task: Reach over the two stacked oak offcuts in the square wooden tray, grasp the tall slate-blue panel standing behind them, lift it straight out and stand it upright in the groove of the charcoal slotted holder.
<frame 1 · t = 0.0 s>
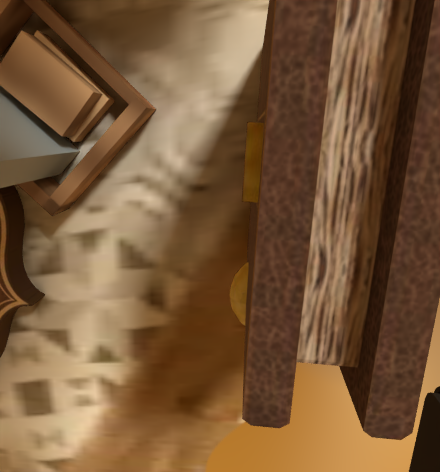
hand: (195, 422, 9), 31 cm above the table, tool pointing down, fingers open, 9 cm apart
square wooden tray: (51, 104, 38), on the table
offcut low: (66, 90, 38), on the table, touching offcut top
offcut top: (54, 87, 36), point 2 cm above the table, touching offcut low
book: (288, 161, 38), on the table
panel: (33, 128, 39), on the table
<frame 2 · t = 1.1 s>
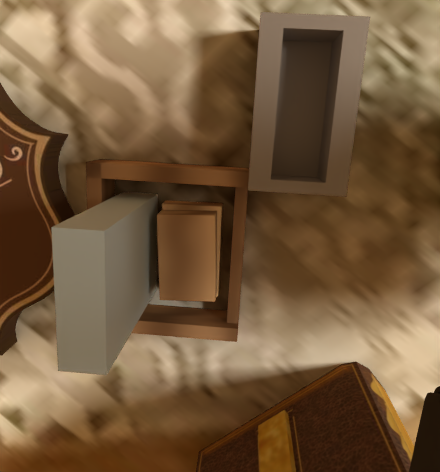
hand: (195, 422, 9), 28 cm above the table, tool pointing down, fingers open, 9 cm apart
square wooden tray: (172, 244, 38), on the table
offcut low: (194, 244, 38), on the table, touching offcut top
offcut top: (190, 251, 36), point 2 cm above the table, touching offcut low
holder: (297, 111, 34), on the table
book: (281, 434, 42), on the table
panel: (140, 242, 38), on the table
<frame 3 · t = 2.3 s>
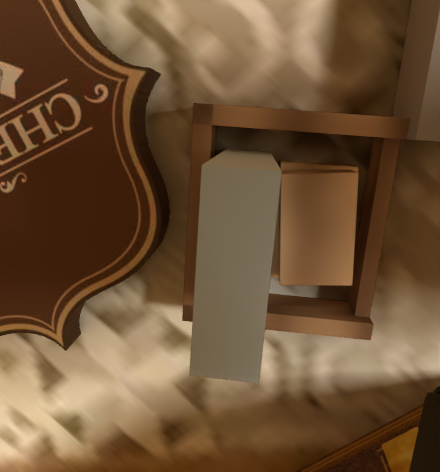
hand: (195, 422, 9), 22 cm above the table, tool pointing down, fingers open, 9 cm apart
square wooden tray: (283, 216, 30), on the table
offcut low: (309, 217, 30), on the table, touching offcut top
offcut top: (313, 223, 28), point 2 cm above the table, touching offcut low
book: (398, 454, 34), on the table
panel: (243, 213, 30), on the table
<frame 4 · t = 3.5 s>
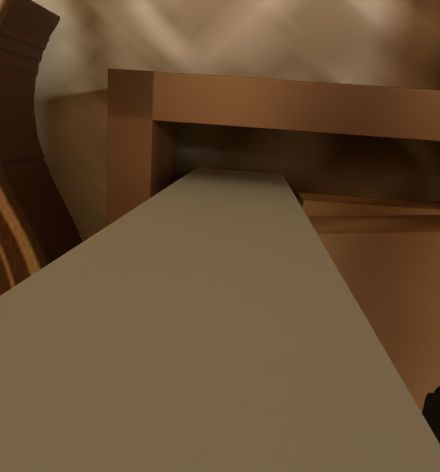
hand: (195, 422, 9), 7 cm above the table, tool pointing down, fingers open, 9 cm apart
square wooden tray: (307, 298, 16), on the table
offcut low: (351, 298, 16), on the table, touching offcut top
offcut top: (374, 321, 14), point 2 cm above the table, touching offcut low
panel: (229, 290, 16), on the table
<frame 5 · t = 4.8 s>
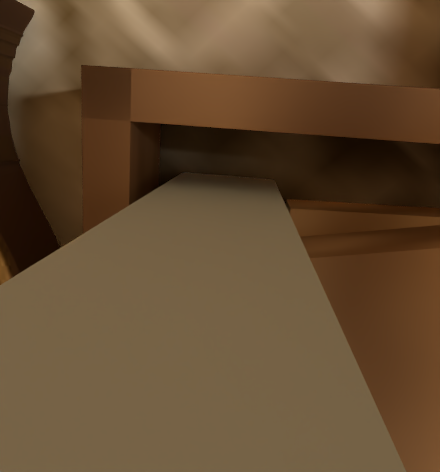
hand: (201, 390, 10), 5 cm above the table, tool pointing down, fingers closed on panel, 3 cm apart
square wooden tray: (300, 310, 15), on the table
offcut low: (345, 309, 15), on the table, touching offcut top
offcut top: (366, 343, 13), point 2 cm above the table, touching offcut low
panel: (218, 302, 15), on the table, touching gripper
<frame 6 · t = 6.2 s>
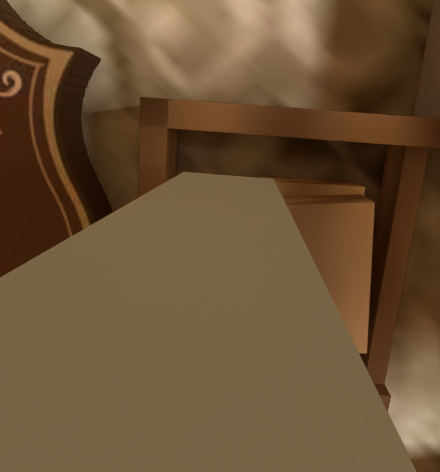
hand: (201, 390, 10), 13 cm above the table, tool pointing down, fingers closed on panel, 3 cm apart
square wooden tray: (268, 249, 23), on the table
offcut low: (298, 250, 23), on the table, touching offcut top
offcut top: (311, 266, 21), point 2 cm above the table, touching offcut low
panel: (218, 301, 15), point 8 cm above the table, touching gripper
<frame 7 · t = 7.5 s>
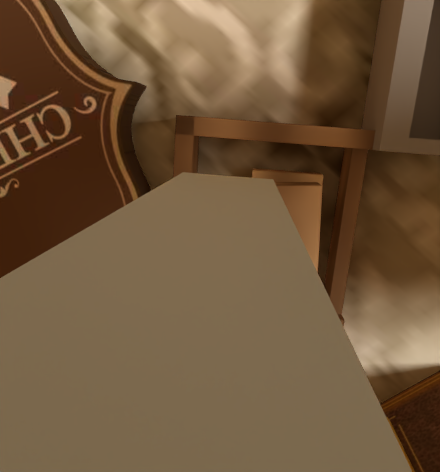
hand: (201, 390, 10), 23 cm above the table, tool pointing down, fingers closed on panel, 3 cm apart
square wooden tray: (261, 220, 32), on the table
offcut low: (280, 221, 33), on the table, touching offcut top
offcut top: (282, 231, 31), point 2 cm above the table, touching offcut low
holder: (425, 62, 29), on the table
book: (371, 443, 37), on the table
panel: (218, 301, 15), point 18 cm above the table, touching gripper
when the fingers open (9 cm above the table, at t = 11.3 s): panel drops 2 cm, resting on holder.
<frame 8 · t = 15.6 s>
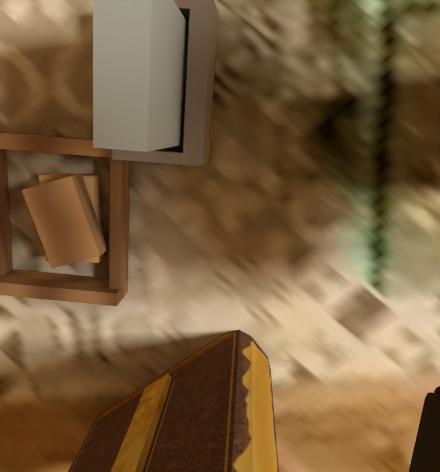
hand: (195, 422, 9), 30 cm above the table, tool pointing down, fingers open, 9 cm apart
square wooden tray: (62, 214, 40), on the table
offcut low: (78, 215, 40), on the table, touching offcut top
offcut top: (71, 218, 38), point 2 cm above the table, touching offcut low
holder: (172, 88, 36), on the table
book: (174, 399, 44), on the table
panel: (171, 87, 35), point 1 cm above the table, touching holder
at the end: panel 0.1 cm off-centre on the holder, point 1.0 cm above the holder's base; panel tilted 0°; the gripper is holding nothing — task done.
